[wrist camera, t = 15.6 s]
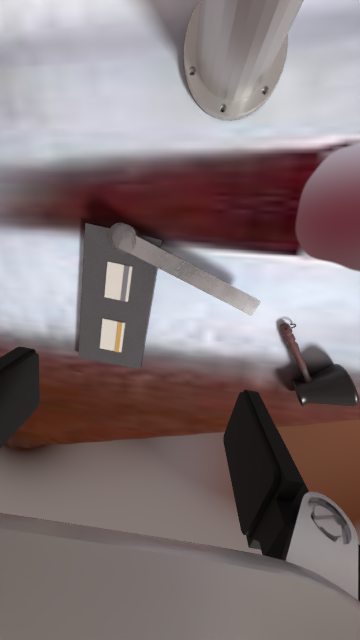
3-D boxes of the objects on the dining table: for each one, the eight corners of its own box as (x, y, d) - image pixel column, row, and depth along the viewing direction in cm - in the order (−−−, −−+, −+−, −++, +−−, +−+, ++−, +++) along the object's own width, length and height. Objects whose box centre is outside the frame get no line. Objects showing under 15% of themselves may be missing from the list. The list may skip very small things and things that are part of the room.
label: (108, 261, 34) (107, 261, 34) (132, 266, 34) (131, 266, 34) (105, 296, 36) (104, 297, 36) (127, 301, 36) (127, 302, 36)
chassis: (88, 223, 33) (85, 223, 32) (162, 240, 34) (161, 240, 33) (81, 354, 41) (78, 357, 40) (141, 365, 42) (140, 369, 41)
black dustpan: (341, 389, 42) (296, 397, 45) (320, 307, 39) (273, 320, 42) (364, 415, 35) (309, 423, 38) (341, 317, 32) (283, 332, 35)
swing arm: (112, 245, 33) (103, 245, 29) (121, 220, 32) (113, 217, 28) (242, 312, 36) (248, 319, 32) (255, 291, 35) (263, 297, 31)
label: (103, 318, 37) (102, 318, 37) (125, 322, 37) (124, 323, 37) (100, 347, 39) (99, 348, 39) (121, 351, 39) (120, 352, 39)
